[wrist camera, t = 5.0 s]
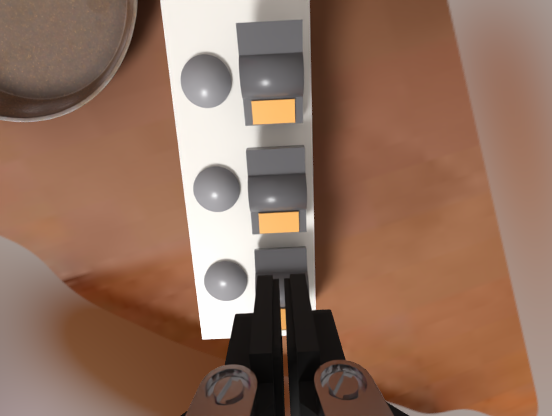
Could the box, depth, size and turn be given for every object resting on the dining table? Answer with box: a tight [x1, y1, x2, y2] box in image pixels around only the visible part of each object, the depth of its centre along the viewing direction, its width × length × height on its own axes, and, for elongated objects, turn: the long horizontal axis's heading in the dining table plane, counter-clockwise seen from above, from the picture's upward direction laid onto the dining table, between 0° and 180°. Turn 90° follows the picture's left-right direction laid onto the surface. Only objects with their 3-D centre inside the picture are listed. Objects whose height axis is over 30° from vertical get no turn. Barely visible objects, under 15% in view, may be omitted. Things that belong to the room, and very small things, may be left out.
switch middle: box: [246, 145, 307, 235], centre depth 21 cm, size 6×4×3 cm, turn 3°
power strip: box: [160, 0, 316, 339], centre depth 23 cm, size 32×9×4 cm, turn 3°
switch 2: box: [254, 246, 310, 330], centre depth 23 cm, size 6×4×3 cm, turn 3°
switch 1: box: [236, 19, 304, 126], centre depth 19 cm, size 6×4×3 cm, turn 3°
